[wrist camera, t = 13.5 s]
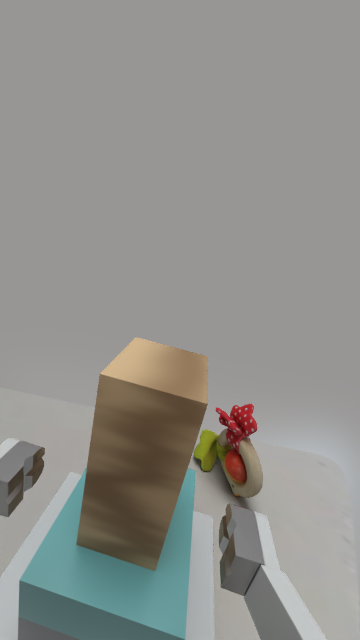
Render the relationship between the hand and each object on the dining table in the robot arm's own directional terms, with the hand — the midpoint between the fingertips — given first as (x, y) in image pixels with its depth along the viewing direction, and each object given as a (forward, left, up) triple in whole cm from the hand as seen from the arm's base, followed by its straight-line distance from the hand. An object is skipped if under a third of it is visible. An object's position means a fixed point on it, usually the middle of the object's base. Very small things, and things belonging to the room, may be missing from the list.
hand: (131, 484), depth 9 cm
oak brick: (0, +4, -8) cm, 9 cm away
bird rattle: (+10, +16, -16) cm, 25 cm away
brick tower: (0, +4, -16) cm, 17 cm away
